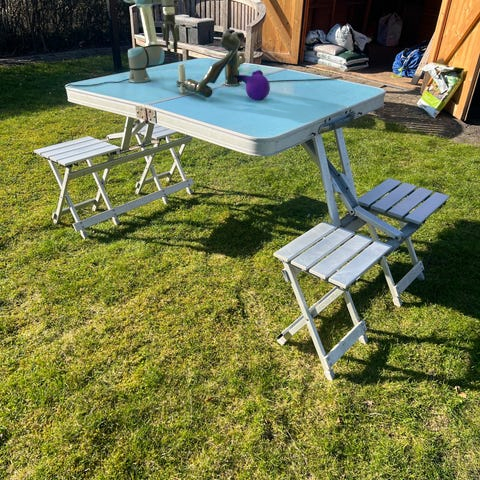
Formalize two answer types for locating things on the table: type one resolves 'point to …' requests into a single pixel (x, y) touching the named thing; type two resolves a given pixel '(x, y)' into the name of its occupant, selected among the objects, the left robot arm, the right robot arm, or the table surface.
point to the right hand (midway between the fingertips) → (180, 81)
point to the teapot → (241, 59)
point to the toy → (255, 85)
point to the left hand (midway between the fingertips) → (172, 52)
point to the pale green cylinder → (182, 77)
